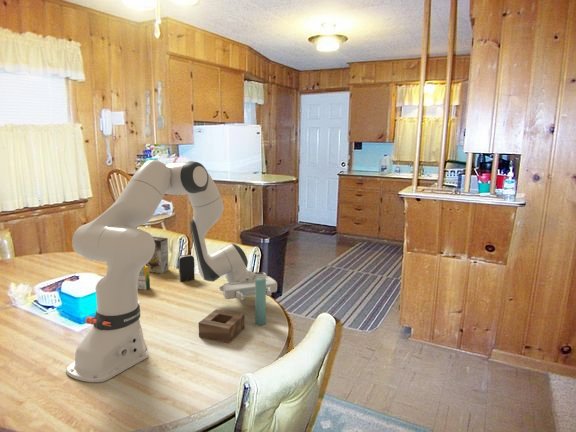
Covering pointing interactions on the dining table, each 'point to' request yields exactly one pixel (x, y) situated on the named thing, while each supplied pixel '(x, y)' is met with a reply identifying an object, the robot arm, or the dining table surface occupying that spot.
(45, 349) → the dining table surface
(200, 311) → the dining table surface
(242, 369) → the dining table surface
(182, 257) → the battery charger
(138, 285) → the crayon box
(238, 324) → the socket block
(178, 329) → the dining table surface
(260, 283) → the peg
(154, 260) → the coffee box
